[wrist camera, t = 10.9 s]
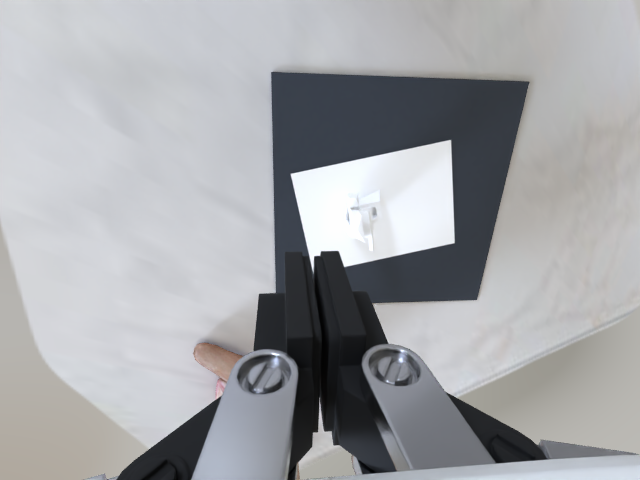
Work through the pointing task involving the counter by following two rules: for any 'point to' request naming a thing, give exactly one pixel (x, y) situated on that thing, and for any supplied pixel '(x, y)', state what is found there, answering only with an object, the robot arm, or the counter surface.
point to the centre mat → (390, 136)
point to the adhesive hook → (378, 204)
